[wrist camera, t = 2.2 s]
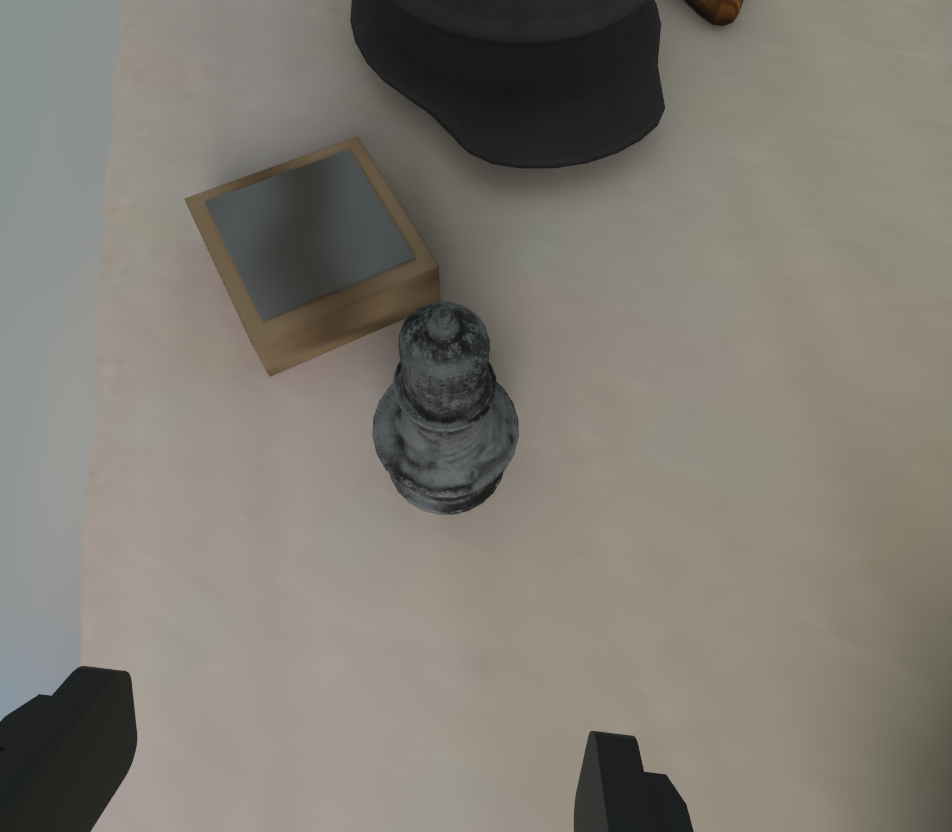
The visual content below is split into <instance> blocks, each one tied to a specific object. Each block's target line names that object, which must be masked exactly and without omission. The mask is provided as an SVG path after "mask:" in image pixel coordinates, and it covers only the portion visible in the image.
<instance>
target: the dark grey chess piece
mask: <svg viewBox="0 0 952 832" xmlns="http://www.w3.org/2000/svg"><path fill="white" fill-rule="evenodd" d="M489 351H490V345H489V337H488V334H487V331H486V328H485V325H484V324H483V322H482V321H481V319H480V318H479V317H478V316H477V315H476V314H475V313H474V312H472V311H471V310H470V309H468V308H466V307H464V306H462V305H459V304H455V303H451V302H435V303H430V304H426V305H424V306H422V307H420V308H418V309H416V310H415V311H414V312H413V313H411V314H410V315H409V316H408V318H407V319H406V320H405V322H404V323H403V326H402V329H401V332H400V335H399V354H400V363H399V364H398V366H397V369H396V372H395V375H394V383H393V384H392V385H391V386H390V387H389V388H388V390H387V391H386V393H385V394H384V395H383V397H382V398H381V400H380V401H379V404H378V407H377V410H376V412H375V415H374V420H373V439H374V444H375V448H376V453H377V455H378V457H379V458H380V460H381V462H382V464H383V466H384V467H385V469H386V470H387V471H388V472H389V473H390V476H391V479H392V481H393V483H394V485H395V486H396V488H397V490H398V492H399V493H400V494H401V495H402V496H403V497H404V498H405V499H406V500H407V501H408V502H409V503H411V504H413V505H414V506H416V507H418V508H419V509H421V510H423V511H427V512H431V513H435V514H458V513H461V512H465V511H469V510H471V509H473V508H475V507H476V506H478V505H480V504H482V503H483V502H484V501H485V500H486V499H487V498H488V497H489V496H490V495H491V494H493V493H494V491H495V489H496V488H497V486H498V484H499V482H500V481H501V478H502V475H503V472H504V471H505V469H506V467H507V466H508V464H509V462H510V461H511V459H512V457H513V455H514V453H515V449H516V445H517V441H518V437H519V431H518V417H517V414H516V411H515V408H514V405H513V402H512V400H511V399H510V397H509V396H508V394H507V393H506V391H505V390H504V388H503V387H502V386H501V385H499V384H498V383H497V382H496V377H495V374H494V371H493V368H492V366H491V364H490V363H489Z"/></svg>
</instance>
